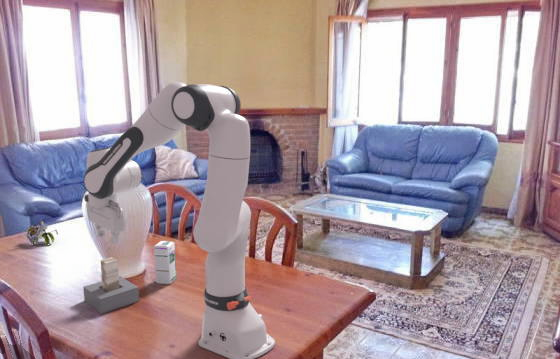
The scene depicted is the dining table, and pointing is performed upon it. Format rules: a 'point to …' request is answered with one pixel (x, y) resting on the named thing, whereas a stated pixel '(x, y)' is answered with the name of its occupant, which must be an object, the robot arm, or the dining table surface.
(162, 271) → the syrup box
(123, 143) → the robot arm
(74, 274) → the dining table surface
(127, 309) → the dining table surface
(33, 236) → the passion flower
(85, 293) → the socket block
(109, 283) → the cream peg
